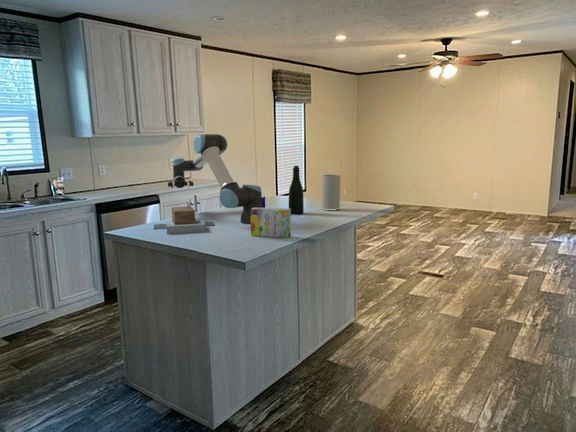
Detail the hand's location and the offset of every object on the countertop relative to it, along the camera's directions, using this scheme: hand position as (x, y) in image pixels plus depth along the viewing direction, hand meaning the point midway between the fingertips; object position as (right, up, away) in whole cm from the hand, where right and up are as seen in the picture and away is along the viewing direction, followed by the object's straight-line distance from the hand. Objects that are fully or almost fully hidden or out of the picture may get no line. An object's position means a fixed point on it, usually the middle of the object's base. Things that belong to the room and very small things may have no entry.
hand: (181, 185), depth 277 cm
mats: (+5, -25, -13) cm, 29 cm away
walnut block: (+3, -24, -6) cm, 25 cm away
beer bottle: (+73, -18, +27) cm, 80 cm away
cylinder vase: (+99, -15, +43) cm, 109 cm away
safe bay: (+9, -27, -26) cm, 39 cm away
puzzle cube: (+45, -16, +39) cm, 61 cm away
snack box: (+58, -30, -40) cm, 77 cm away
